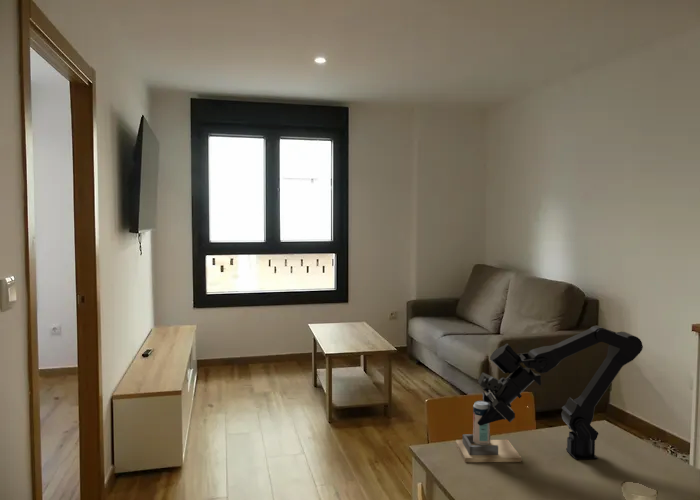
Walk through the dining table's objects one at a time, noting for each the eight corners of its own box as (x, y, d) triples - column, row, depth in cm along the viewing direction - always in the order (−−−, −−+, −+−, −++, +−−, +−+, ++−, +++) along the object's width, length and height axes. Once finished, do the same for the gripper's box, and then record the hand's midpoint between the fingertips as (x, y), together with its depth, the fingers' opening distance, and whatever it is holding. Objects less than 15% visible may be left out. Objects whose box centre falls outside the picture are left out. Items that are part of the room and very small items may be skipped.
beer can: (481, 438, 155) (481, 399, 154) (493, 444, 151) (493, 403, 150) (469, 442, 152) (469, 402, 151) (481, 448, 148) (482, 407, 147)
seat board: (507, 443, 158) (507, 431, 157) (521, 461, 146) (521, 448, 145) (455, 444, 157) (455, 432, 157) (465, 462, 145) (465, 449, 145)
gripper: (488, 356, 159) (452, 391, 160) (503, 373, 141) (462, 413, 142) (514, 381, 159) (478, 416, 160) (532, 402, 141) (491, 441, 142)
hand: (476, 420), depth 151 cm, fingers closed on beer can, 5 cm apart
